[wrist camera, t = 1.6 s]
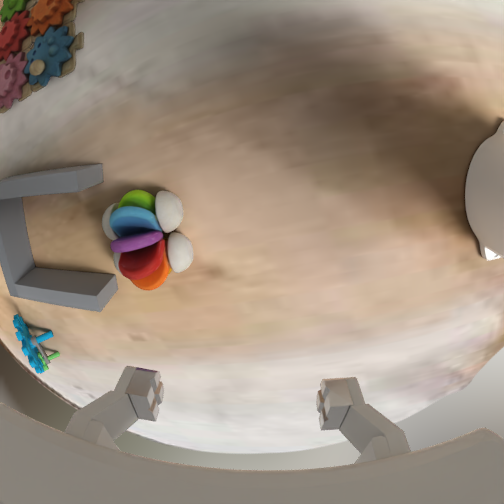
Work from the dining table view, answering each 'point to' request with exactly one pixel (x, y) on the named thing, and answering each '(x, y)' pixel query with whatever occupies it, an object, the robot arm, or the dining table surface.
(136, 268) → the multicoloured rounded-lobe toy
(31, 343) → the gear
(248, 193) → the dining table surface
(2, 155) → the dining table surface
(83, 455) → the robot arm
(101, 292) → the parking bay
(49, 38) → the gear puzzle
